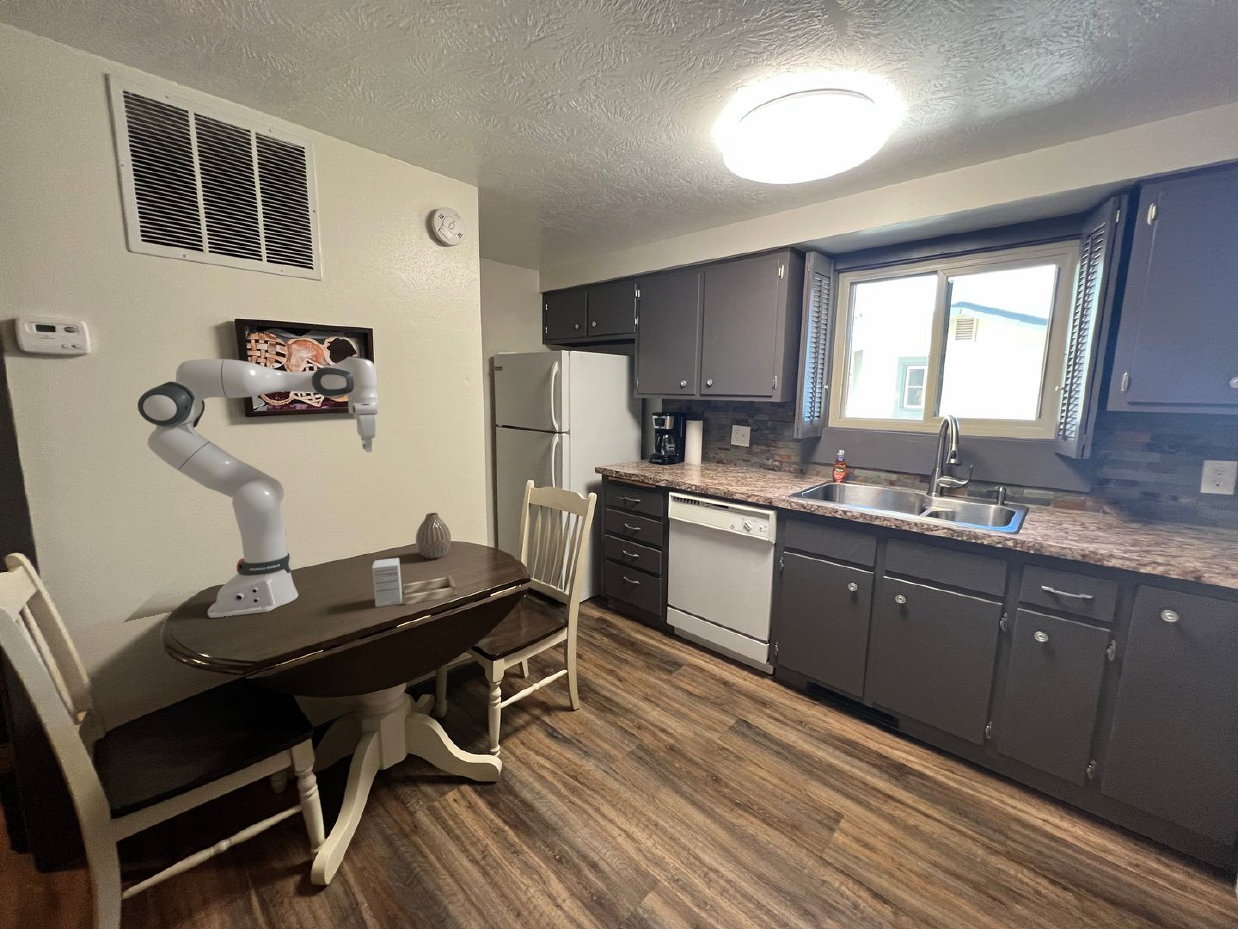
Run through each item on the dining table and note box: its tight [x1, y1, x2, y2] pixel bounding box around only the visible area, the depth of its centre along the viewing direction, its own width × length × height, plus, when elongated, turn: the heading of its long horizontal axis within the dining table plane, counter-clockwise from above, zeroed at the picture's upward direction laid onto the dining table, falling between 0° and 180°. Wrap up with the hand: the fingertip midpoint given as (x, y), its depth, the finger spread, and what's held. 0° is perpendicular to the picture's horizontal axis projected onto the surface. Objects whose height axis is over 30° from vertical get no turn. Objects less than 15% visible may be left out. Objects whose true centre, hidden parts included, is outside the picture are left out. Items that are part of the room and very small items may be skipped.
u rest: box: [402, 574, 458, 606], centre depth 158 cm, size 15×11×3 cm
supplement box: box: [371, 557, 403, 608], centre depth 152 cm, size 7×7×13 cm
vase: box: [415, 512, 452, 560], centre depth 194 cm, size 13×13×18 cm
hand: (367, 450), depth 160 cm, fingers open, 8 cm apart
